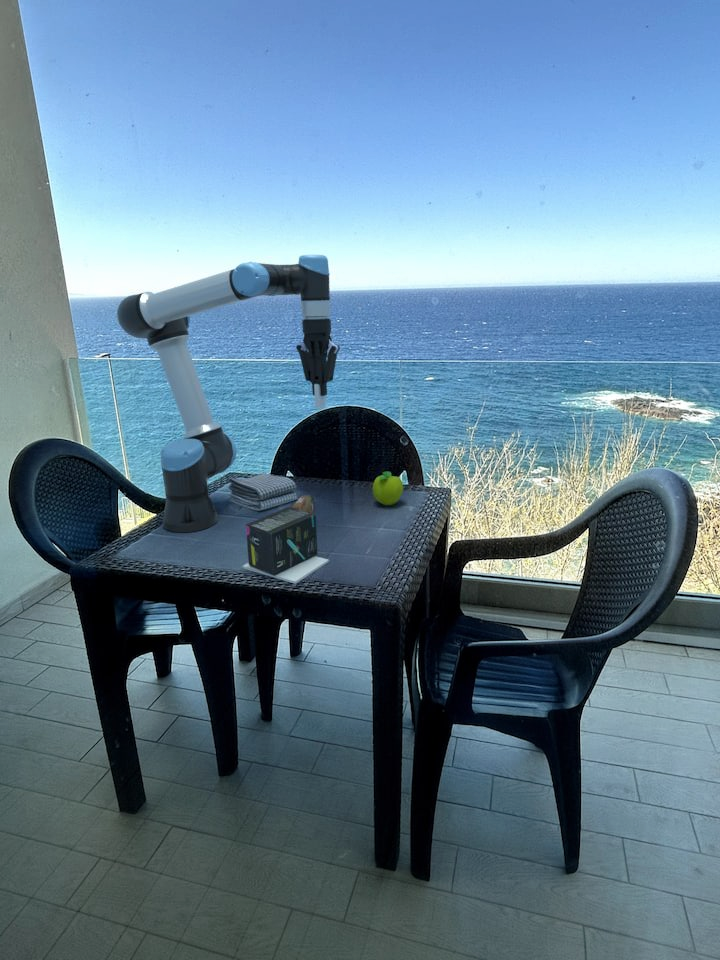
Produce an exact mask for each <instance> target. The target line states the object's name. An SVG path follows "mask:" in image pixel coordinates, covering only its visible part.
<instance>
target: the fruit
mask: <svg viewBox="0 0 720 960" xmlns="http://www.w3.org/2000/svg"><path fill="white" fill-rule="evenodd" d="M403 492H404V483H403V481H402V479H401V478H400V477H399V476H394V475H392V473H391V471H383V472H382V475H379V476H377V477H376V478H375V480H374V481H373V484H372V495H373V498H374V499H375V500H376V501H377V502H379V503H380V504H382V505H383V506H388V505H389V506H392V505H395V504H396V503H397V502H398V501H399V499H400V498H401V496H402V495H403Z"/></svg>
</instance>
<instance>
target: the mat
mask: <svg viewBox="0 0 720 960" xmlns="http://www.w3.org/2000/svg"><path fill="white" fill-rule="evenodd" d="M329 562H330V560H329V559H327V558H325V557H321V556H320V557H319V556H317V555H316V556H314V557H312V558H310V559H308V560H306V561H303V562H301V563H299V564H297V565H295V566H293V567H291V568H289V569H287V570H285V571H283V572H281V573H279V574H277V575H275V576H273V575H271V574H268V573H266V572H264V571H261V570H259V569H257V568H254V567H252V566H250V565H249V562H247V563H245V564H244V565H242V569H245V570H247V571H252V572H254V573H257V574H262V575H265V576H267V577H272V578H274V579H278V580H281V581H285V582H288V583H292V584H295V585H296V584H298V583H299V582H301V581H302V580H303V579H305V578H306V577H308V576H310V575H311V574H313V573H314V572H316V571H318V570H319V569H320V568H322V567H324V566H325V565H327V564H329Z"/></svg>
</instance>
